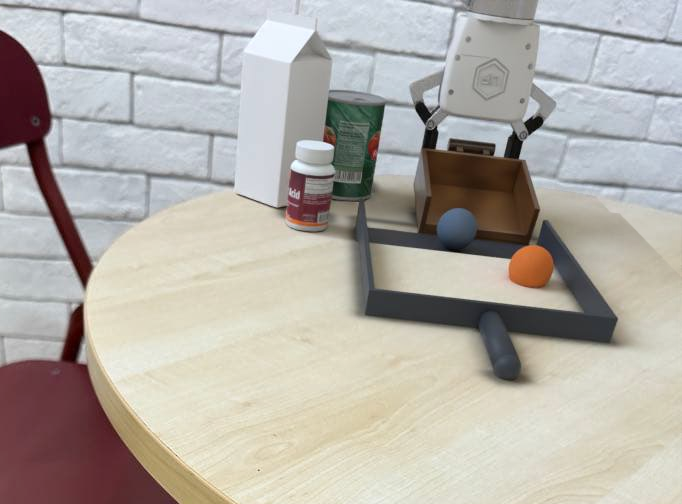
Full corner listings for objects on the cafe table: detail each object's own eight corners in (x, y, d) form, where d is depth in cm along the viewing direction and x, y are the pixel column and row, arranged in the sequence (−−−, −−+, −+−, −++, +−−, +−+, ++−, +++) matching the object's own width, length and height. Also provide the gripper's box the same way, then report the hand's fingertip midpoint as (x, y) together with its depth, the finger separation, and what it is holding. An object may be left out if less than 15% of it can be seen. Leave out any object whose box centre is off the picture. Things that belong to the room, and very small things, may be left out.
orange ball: (546, 302, 83) (543, 270, 85) (561, 270, 79) (558, 238, 81) (503, 297, 83) (502, 265, 85) (517, 265, 79) (515, 233, 81)
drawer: (511, 184, 107) (523, 144, 103) (528, 247, 96) (542, 204, 92) (412, 173, 106) (420, 132, 103) (417, 234, 96) (427, 191, 92)
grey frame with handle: (354, 228, 95) (359, 197, 93) (539, 249, 96) (547, 220, 94) (366, 378, 64) (374, 338, 62) (639, 409, 65) (655, 370, 63)
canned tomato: (297, 184, 108) (308, 88, 101) (348, 182, 111) (362, 89, 105) (331, 202, 103) (344, 102, 96) (383, 199, 106) (399, 102, 100)
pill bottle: (280, 218, 95) (288, 138, 90) (320, 219, 97) (330, 140, 92) (290, 232, 92) (299, 149, 87) (332, 233, 93) (343, 151, 88)
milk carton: (276, 209, 98) (294, 18, 87) (233, 193, 102) (245, 8, 90) (316, 201, 103) (338, 18, 91) (273, 186, 106) (289, 8, 95)
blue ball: (469, 239, 93) (479, 203, 90) (472, 259, 91) (483, 222, 87) (432, 235, 93) (440, 198, 90) (434, 255, 91) (443, 218, 87)
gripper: (428, -2, 91) (399, 167, 101) (587, 17, 91) (542, 184, 101) (422, -7, 97) (395, 153, 107) (571, 11, 97) (530, 169, 107)
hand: (466, 168), depth 104 cm, fingers open, 9 cm apart
